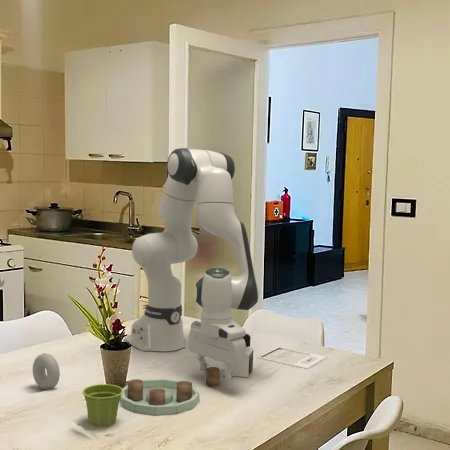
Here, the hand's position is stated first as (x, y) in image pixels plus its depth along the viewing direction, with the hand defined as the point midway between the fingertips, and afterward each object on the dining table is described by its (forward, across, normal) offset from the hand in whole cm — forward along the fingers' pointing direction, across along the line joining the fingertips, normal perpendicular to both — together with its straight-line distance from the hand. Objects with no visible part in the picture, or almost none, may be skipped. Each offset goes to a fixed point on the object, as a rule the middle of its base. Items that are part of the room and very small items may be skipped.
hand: (215, 373), depth 185 cm
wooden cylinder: (+3, -1, 0) cm, 3 cm away
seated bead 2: (+2, +6, -26) cm, 27 cm away
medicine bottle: (+3, -2, +13) cm, 13 cm away
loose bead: (+2, +6, -17) cm, 18 cm away
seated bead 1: (+2, -3, -26) cm, 26 cm away
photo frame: (+4, -1, +37) cm, 37 cm away
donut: (+3, -27, -38) cm, 47 cm away
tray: (+3, +1, -21) cm, 22 cm away
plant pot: (+3, +3, -40) cm, 41 cm away
